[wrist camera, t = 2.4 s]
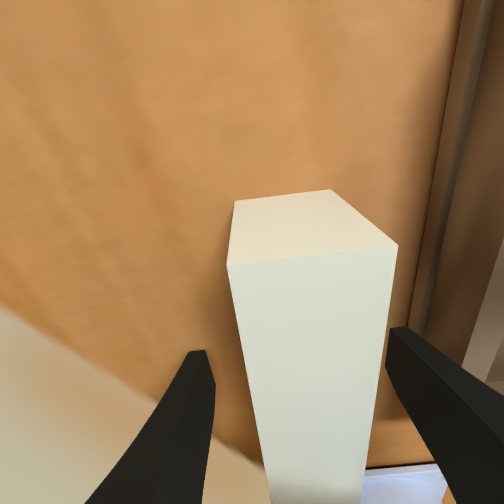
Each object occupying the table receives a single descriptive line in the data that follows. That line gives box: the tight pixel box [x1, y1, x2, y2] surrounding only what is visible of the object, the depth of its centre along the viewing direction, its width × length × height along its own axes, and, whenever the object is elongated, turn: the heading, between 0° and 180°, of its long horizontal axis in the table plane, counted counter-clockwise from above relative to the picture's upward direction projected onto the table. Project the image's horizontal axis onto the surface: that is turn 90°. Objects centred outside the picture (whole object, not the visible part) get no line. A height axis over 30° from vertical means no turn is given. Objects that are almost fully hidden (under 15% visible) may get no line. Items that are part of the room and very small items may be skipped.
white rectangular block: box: [226, 189, 398, 504], centre depth 10 cm, size 12×3×4 cm, turn 7°
